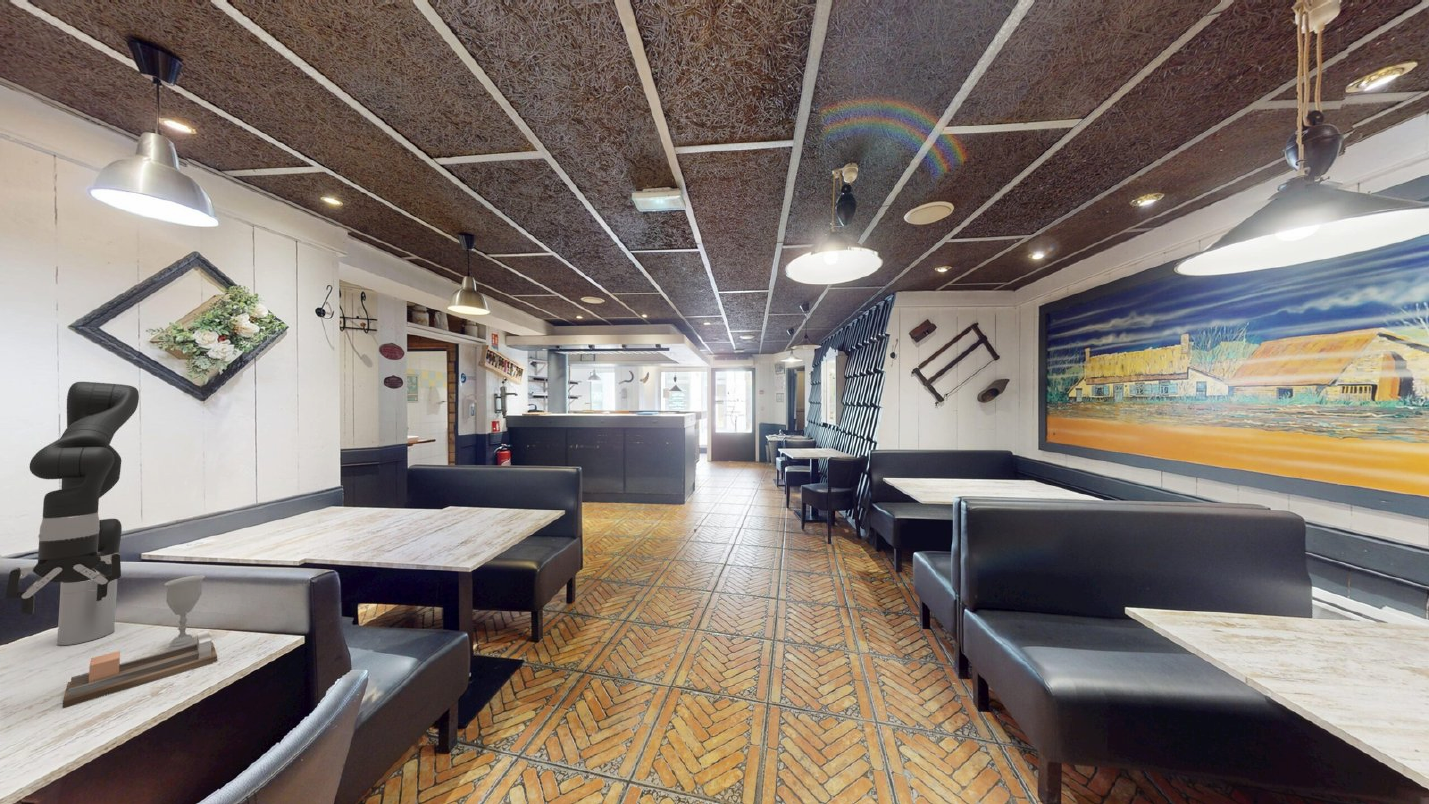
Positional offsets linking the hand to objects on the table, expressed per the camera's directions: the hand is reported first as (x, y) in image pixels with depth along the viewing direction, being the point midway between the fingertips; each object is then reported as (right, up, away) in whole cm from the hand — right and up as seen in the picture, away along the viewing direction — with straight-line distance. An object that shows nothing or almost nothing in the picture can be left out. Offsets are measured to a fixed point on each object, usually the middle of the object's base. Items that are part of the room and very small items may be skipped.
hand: (65, 606), depth 96 cm
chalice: (-1, -22, +22) cm, 31 cm away
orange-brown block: (+3, -19, +4) cm, 20 cm away
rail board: (+7, -21, +9) cm, 24 cm away
